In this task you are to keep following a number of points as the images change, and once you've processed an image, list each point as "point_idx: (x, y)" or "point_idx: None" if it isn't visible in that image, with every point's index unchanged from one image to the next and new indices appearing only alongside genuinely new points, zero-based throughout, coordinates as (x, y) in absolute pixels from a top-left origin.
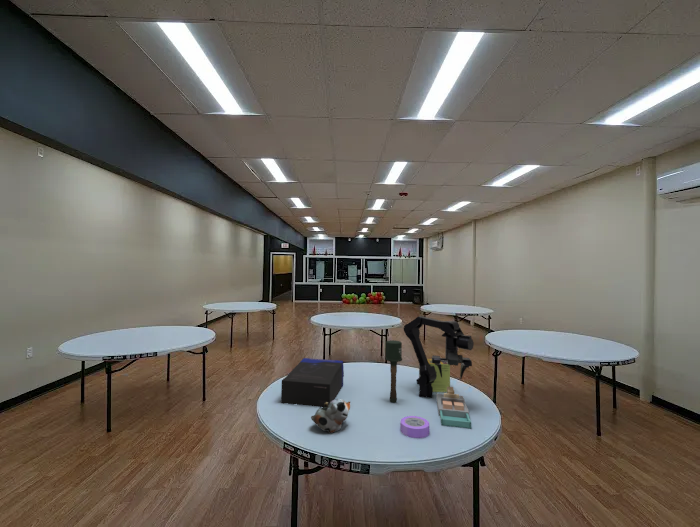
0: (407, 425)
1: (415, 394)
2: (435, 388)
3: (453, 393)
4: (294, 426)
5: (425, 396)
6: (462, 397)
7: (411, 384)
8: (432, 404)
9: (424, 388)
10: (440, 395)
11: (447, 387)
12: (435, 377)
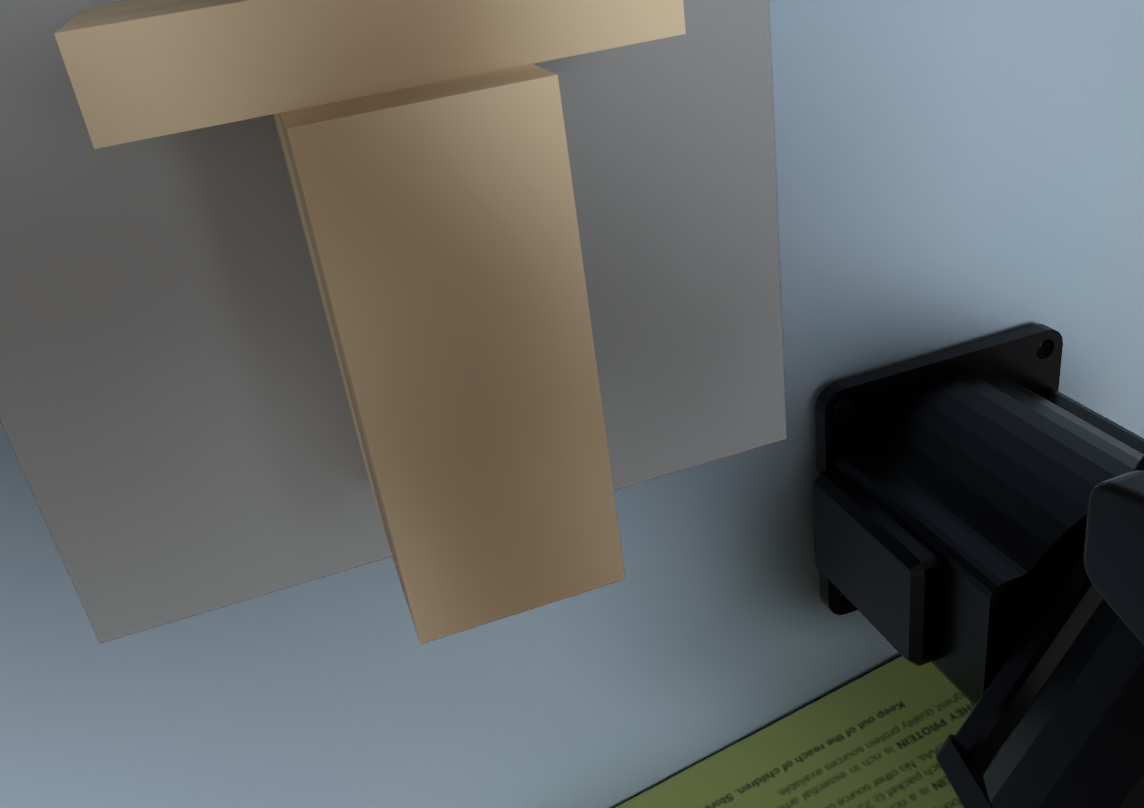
0: None
1: None
2: (777, 786)
3: (320, 104)
4: None
5: (947, 363)
6: (82, 526)
7: None
8: (799, 20)
9: (1093, 443)
10: (690, 355)
11: (598, 499)
12: (1053, 805)
